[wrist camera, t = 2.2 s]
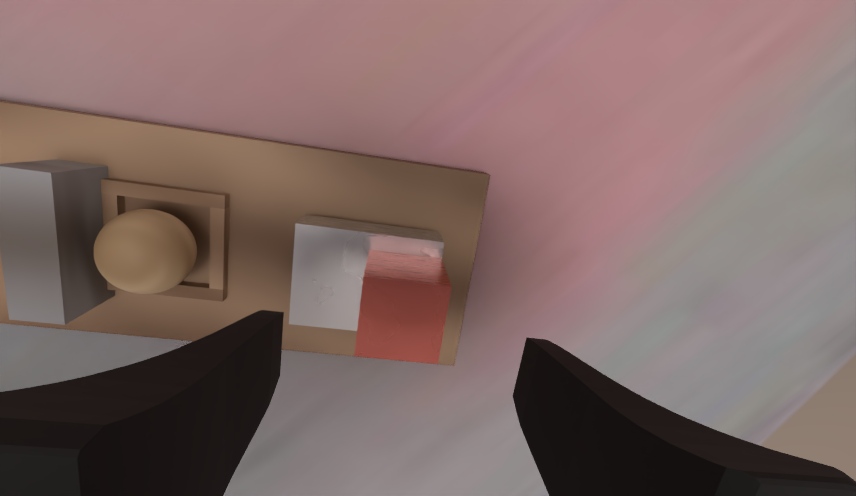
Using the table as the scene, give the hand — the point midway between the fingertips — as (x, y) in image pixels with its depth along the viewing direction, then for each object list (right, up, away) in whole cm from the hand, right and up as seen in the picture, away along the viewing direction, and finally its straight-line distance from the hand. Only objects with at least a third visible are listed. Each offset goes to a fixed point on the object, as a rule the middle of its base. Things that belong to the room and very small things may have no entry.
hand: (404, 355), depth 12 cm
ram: (-2, +2, +7) cm, 7 cm away
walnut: (-11, +3, +7) cm, 13 cm away
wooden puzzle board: (-8, +3, +8) cm, 12 cm away
